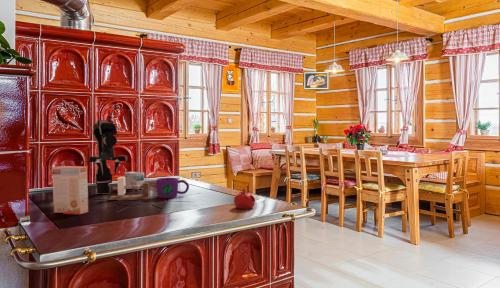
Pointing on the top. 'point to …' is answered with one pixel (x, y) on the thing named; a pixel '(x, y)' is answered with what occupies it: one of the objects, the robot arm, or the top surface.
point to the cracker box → (70, 189)
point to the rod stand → (133, 197)
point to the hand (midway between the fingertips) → (108, 175)
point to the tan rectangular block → (121, 186)
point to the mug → (169, 187)
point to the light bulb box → (134, 178)
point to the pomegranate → (244, 200)
